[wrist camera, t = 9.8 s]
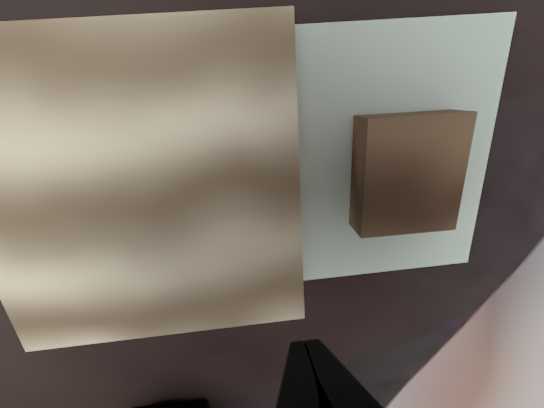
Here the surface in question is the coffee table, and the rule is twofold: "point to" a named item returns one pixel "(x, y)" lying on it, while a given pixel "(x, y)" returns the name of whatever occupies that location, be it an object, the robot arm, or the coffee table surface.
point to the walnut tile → (409, 171)
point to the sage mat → (380, 100)
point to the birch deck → (149, 175)
